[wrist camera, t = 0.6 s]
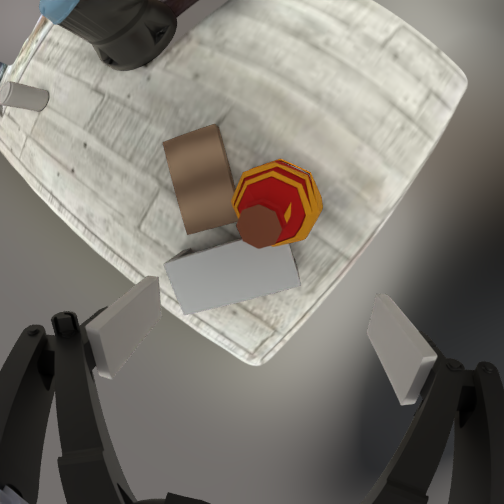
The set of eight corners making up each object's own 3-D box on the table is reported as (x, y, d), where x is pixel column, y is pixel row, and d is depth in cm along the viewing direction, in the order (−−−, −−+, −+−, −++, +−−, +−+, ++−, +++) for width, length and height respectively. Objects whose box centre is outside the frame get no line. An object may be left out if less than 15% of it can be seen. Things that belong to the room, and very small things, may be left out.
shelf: (182, 250, 41) (163, 264, 34) (282, 219, 39) (283, 227, 32) (199, 294, 43) (184, 315, 36) (297, 268, 40) (301, 285, 33)
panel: (170, 145, 38) (162, 142, 35) (219, 128, 37) (214, 123, 34) (193, 231, 41) (187, 235, 38) (243, 218, 40) (241, 220, 37)
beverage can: (34, 113, 38) (-5, 107, 26) (38, 93, 37) (1, 84, 25) (47, 109, 38) (6, 101, 26) (51, 88, 36) (12, 77, 25)
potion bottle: (284, 240, 40) (259, 296, 27) (235, 188, 39) (185, 221, 26) (339, 195, 35) (344, 234, 22) (287, 138, 34) (260, 141, 21)
